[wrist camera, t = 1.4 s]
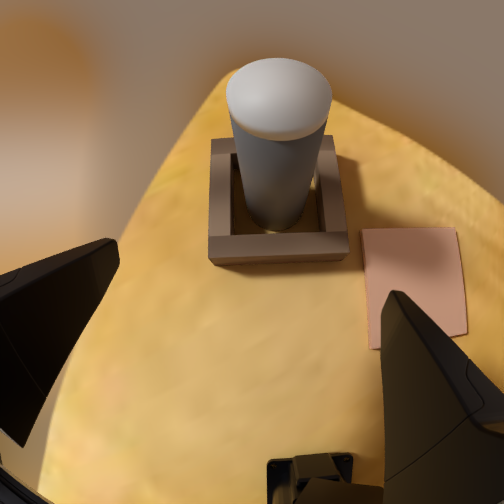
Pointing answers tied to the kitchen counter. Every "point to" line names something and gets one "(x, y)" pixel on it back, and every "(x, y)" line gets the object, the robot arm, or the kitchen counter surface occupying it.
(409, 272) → the terracotta tile
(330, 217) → the walnut collar
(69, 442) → the kitchen counter surface
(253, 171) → the grey cylinder
